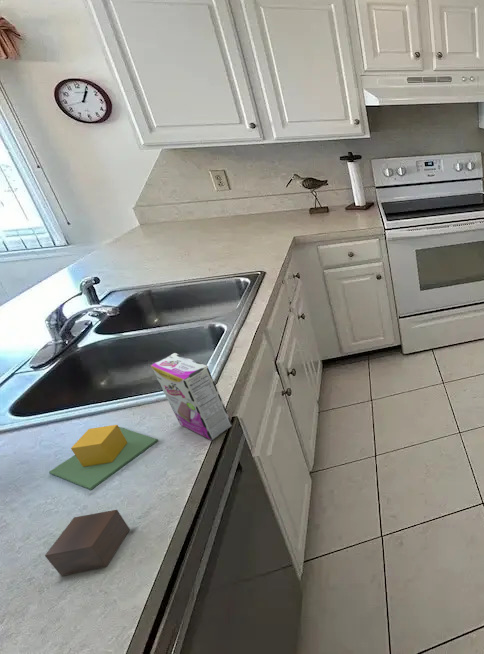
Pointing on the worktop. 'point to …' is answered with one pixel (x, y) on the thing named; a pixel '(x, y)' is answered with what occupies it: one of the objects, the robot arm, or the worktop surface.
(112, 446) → the mustard block
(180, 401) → the candy bar box
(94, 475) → the green mat
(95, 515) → the walnut block
